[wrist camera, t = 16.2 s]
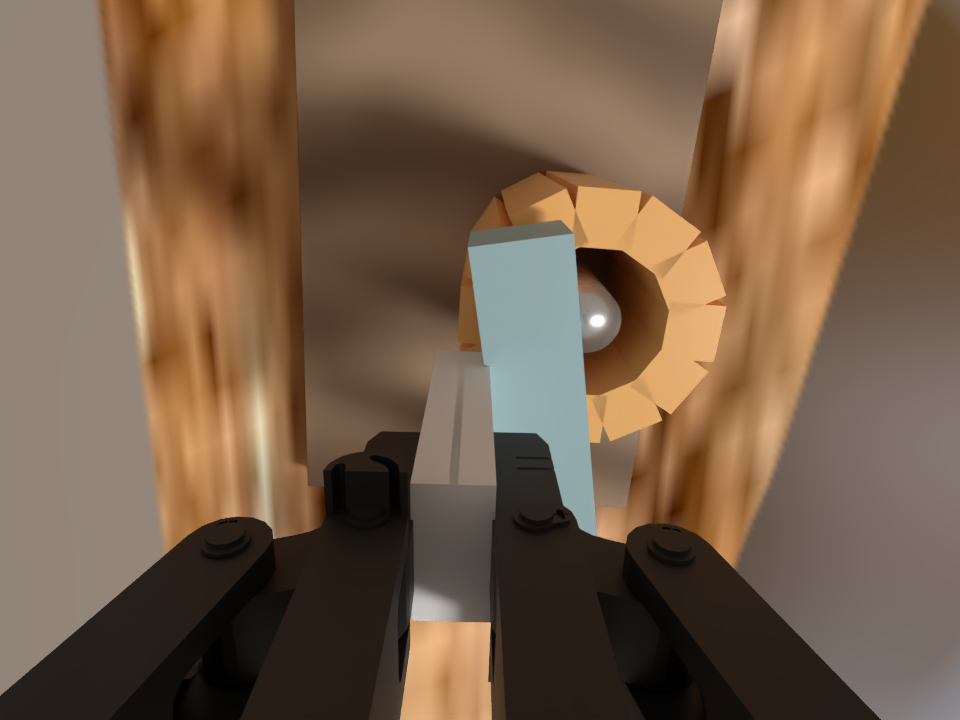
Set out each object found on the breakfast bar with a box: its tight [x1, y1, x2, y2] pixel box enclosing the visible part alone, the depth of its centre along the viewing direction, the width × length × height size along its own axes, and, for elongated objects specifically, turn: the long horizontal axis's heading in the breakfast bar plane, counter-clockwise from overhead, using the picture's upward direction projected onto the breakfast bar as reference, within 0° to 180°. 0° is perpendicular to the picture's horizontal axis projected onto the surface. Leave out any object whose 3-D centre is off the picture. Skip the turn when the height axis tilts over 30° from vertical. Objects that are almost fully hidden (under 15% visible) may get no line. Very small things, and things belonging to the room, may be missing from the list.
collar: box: [457, 171, 726, 443], centre depth 21 cm, size 8×8×9 cm
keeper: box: [468, 220, 597, 536], centre depth 17 cm, size 14×3×2 cm, turn 8°
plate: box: [294, 0, 723, 508], centre depth 25 cm, size 30×16×2 cm, turn 176°
